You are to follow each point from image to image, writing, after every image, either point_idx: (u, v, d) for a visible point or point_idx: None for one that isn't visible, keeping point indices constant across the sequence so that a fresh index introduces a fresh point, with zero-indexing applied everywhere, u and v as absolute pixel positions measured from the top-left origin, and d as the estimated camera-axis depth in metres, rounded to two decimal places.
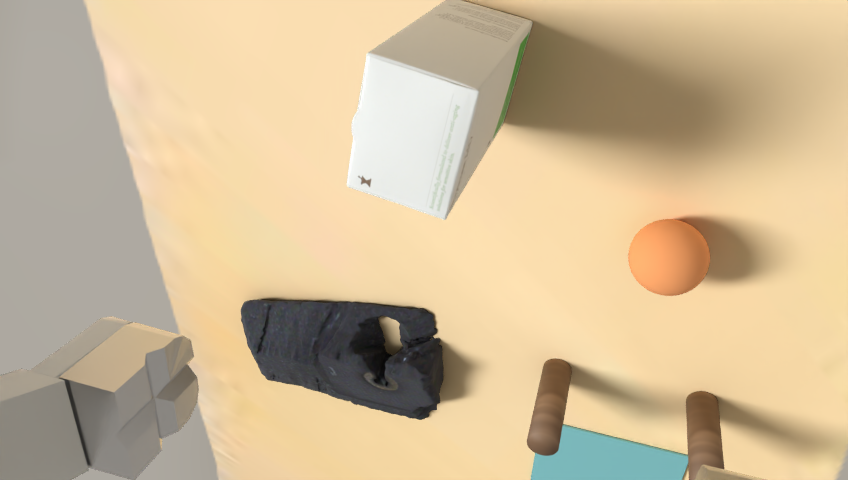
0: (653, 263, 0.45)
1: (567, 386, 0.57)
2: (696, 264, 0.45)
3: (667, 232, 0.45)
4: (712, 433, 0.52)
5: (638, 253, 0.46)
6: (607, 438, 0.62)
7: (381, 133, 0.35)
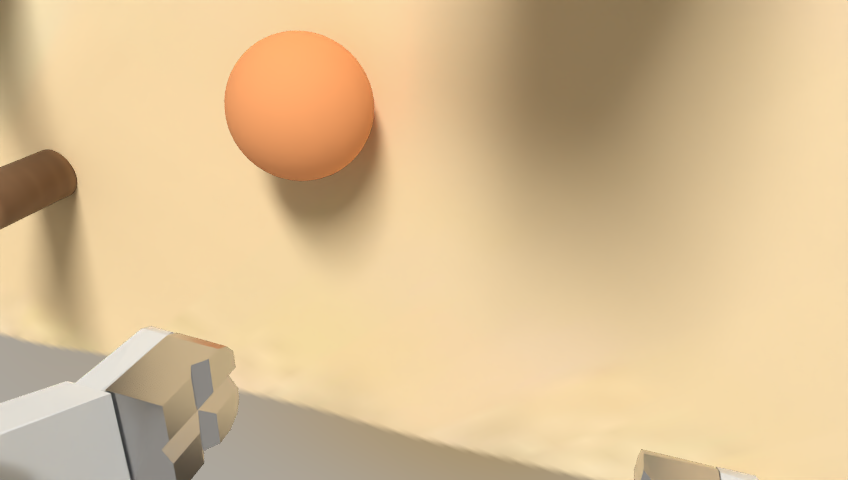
0: (288, 94, 0.22)
1: None
2: (305, 168, 0.24)
3: (354, 105, 0.23)
4: (0, 218, 0.30)
5: (299, 56, 0.22)
6: None
7: None
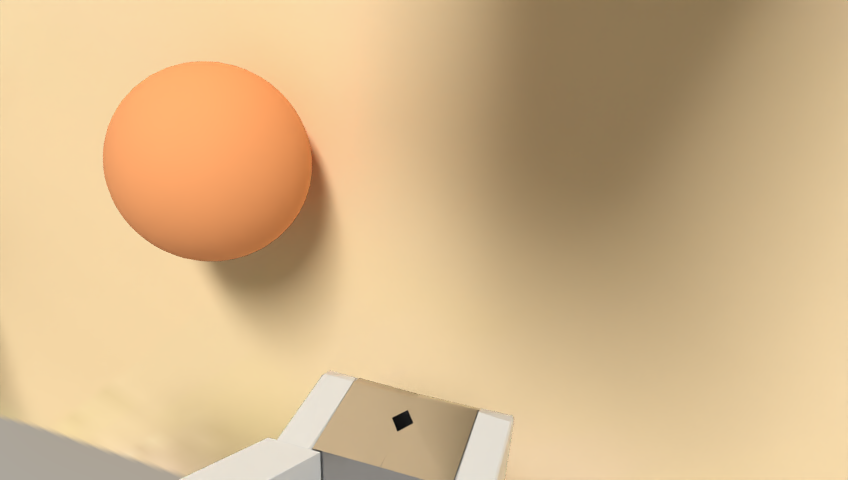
0: (176, 156, 0.16)
1: None
2: (210, 251, 0.17)
3: (275, 167, 0.17)
4: None
5: (195, 102, 0.16)
6: None
7: None
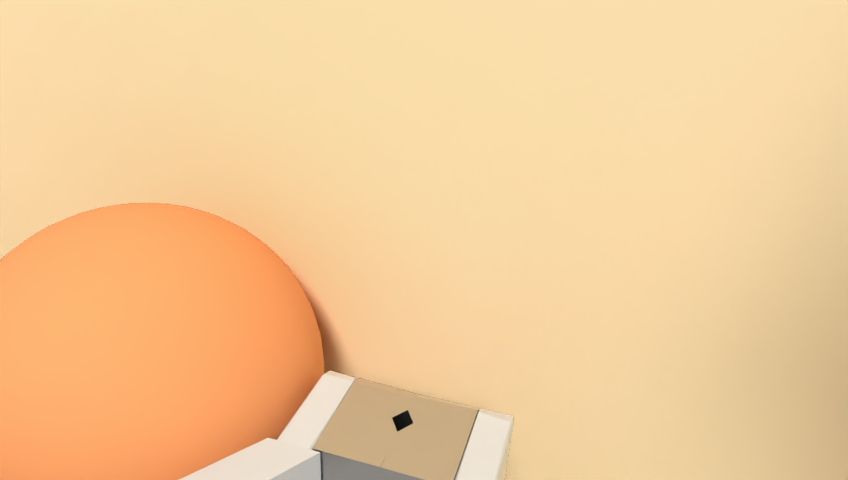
0: None
1: None
2: None
3: None
4: None
5: (2, 259, 0.09)
6: None
7: None
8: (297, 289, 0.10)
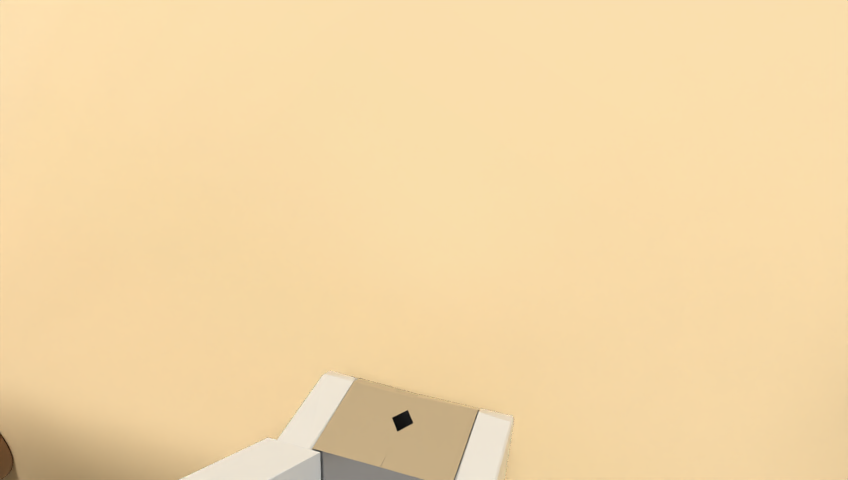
0: None
1: None
2: None
3: None
4: None
5: None
6: None
7: None
8: None
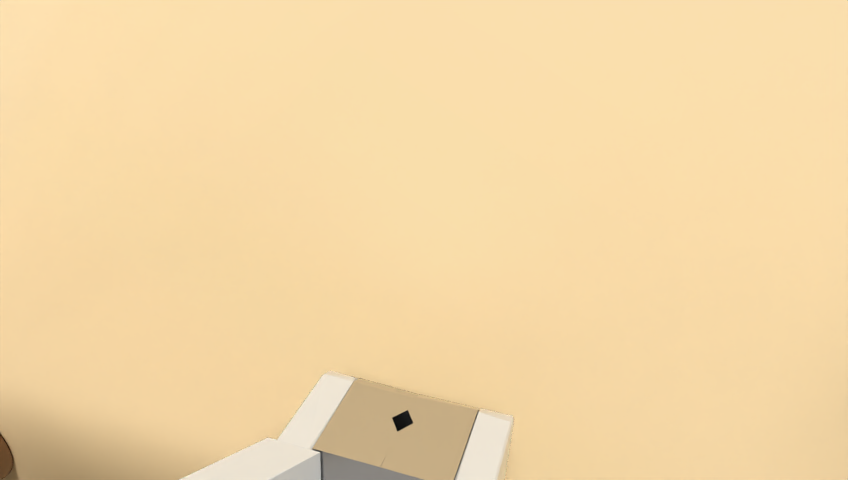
0: None
1: None
2: None
3: None
4: None
5: None
6: None
7: None
8: None
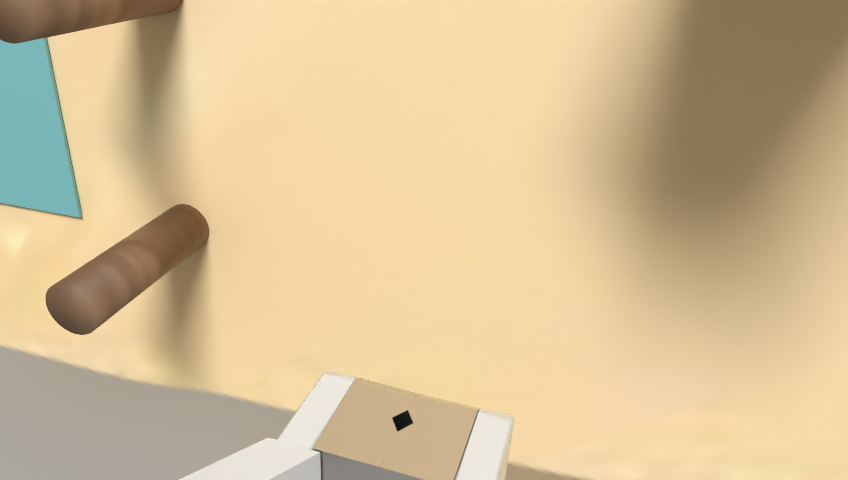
0: None
1: (140, 17, 0.29)
2: None
3: None
4: (158, 273, 0.32)
5: None
6: (50, 89, 0.34)
7: None
8: None
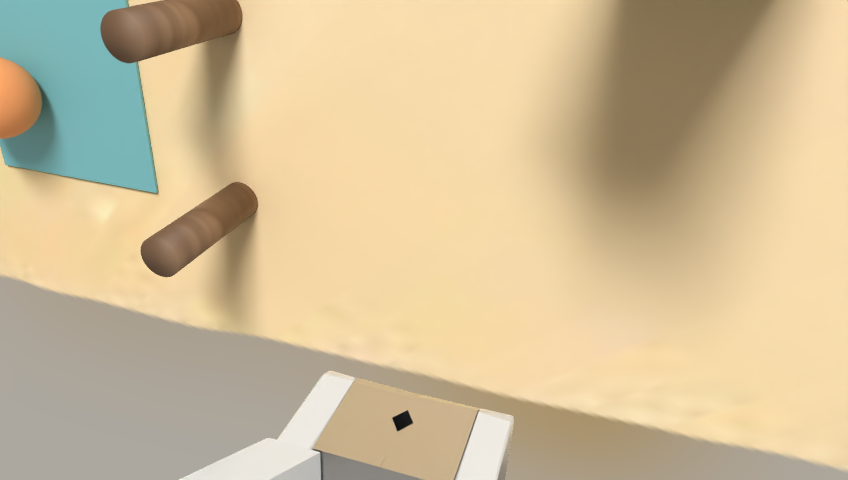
0: (12, 87, 0.43)
1: (210, 39, 0.38)
2: (25, 125, 0.45)
3: (37, 87, 0.46)
4: (220, 234, 0.42)
5: (5, 67, 0.43)
6: (137, 92, 0.44)
7: None
8: None
